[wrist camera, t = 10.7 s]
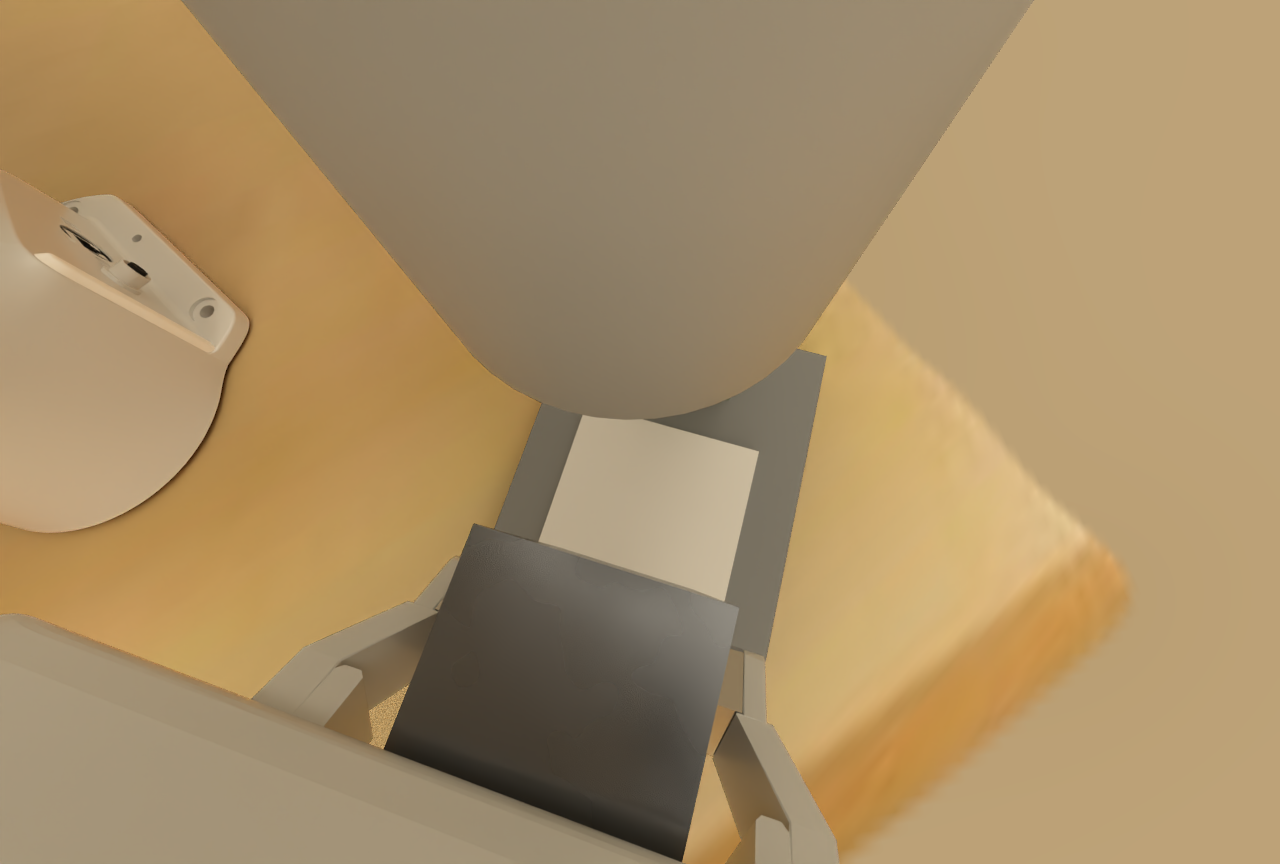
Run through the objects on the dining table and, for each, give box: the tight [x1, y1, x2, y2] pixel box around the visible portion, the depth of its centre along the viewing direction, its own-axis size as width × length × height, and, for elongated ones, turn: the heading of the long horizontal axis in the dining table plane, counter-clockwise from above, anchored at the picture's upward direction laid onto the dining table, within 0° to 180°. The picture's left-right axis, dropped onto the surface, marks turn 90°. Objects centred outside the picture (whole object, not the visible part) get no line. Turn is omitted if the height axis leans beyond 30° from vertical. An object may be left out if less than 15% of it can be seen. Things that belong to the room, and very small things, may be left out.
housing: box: [384, 524, 739, 862], centre depth 12 cm, size 5×4×9 cm
